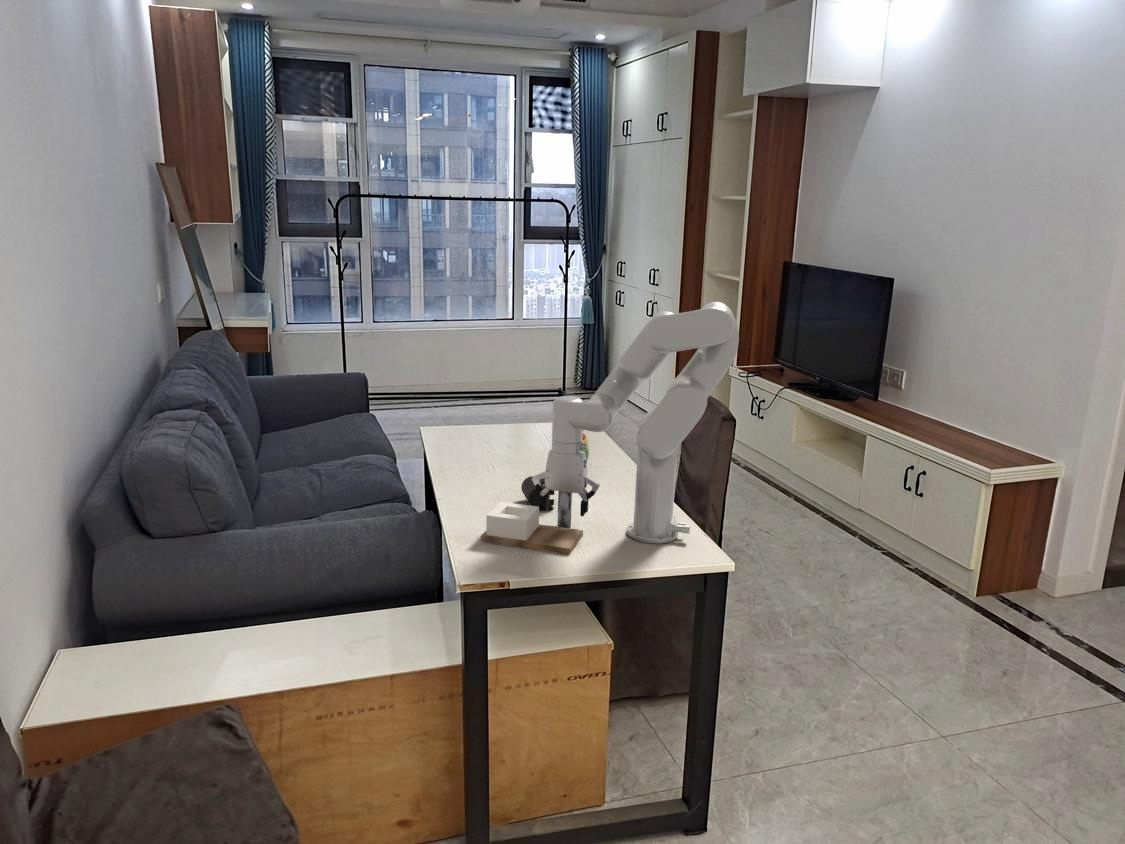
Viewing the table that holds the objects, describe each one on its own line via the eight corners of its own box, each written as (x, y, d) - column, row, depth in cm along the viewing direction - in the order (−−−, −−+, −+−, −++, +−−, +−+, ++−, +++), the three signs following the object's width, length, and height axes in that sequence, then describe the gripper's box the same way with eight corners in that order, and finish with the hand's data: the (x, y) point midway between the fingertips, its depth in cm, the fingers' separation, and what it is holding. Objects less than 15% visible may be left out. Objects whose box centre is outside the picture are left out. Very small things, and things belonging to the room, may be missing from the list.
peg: (572, 524, 211) (573, 487, 208) (568, 529, 207) (570, 491, 205) (559, 523, 211) (560, 485, 209) (555, 527, 208) (556, 490, 206)
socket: (538, 525, 205) (539, 506, 204) (526, 540, 196) (526, 520, 195) (500, 520, 208) (500, 501, 206) (486, 535, 198) (486, 515, 197)
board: (582, 535, 204) (582, 530, 203) (569, 554, 192) (570, 548, 192) (498, 524, 209) (498, 518, 209) (480, 541, 198) (480, 535, 198)
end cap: (520, 499, 228) (521, 476, 226) (546, 498, 229) (546, 475, 228) (527, 512, 218) (528, 488, 217) (554, 511, 220) (555, 486, 218)
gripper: (604, 446, 206) (601, 511, 210) (537, 439, 210) (536, 503, 214) (597, 454, 199) (594, 521, 203) (528, 446, 203) (527, 512, 207)
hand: (564, 512), depth 208 cm, fingers open, 9 cm apart
